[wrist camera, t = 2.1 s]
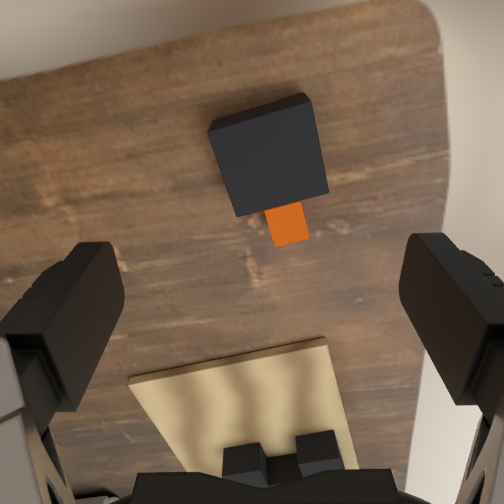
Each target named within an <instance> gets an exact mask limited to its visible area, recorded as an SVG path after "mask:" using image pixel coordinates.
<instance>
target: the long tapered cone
mask: <svg viewBox="0 0 504 504" xmlns="http://www.w3.org/2000/svg"><path fill="white" fill-rule="evenodd" d="M119 499H120V498H118V497H107V496H99V497H92V498H84V499H77V500H75V501H76V504H109V503H112V502H114V501H116V500H119Z"/></svg>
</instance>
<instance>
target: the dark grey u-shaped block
mask: <svg viewBox="0 0 504 504" xmlns="http://www.w3.org/2000/svg"><path fill="white" fill-rule="evenodd" d="M295 440H296V450H297V453H293V454H287V455H281V456H275V457H269V458H267V456H266V454H265V452H264V450H263V448H262V446H261V444H260V442H258V443H252V444H246V445H240V446H234V447H228V448H224V450H223V464H222V478H224V479H228V480H232V481H235V482H239V483H243V484H247V485H251V486H254V487H259V488H268V487H272V486H275V485H279V484H282V483H285V482H289V481H292V480H295V479H299V478H302V477H305V476H308V475H312V474H315V473H318V472H322V471H325V470H339V469H345V466H344V463H343V459H342V456H341V452H340V449H339V446H338V442H337V439H336V435H335V432H334V430H330V431H324V432H318V433H312V434H306V435H300V436H295Z"/></svg>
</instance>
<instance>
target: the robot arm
mask: <svg viewBox="0 0 504 504" xmlns="http://www.w3.org/2000/svg"><path fill="white" fill-rule="evenodd" d="M399 296H400V300H401V303H402V305H403V307H404V309H405V311H406V313H407V315H408V317H409V319H410V320H411V322H412V324H413V326H414V328H415V330H416V332H417V334H418V335H419V337H420V339H421V341H422V343H423V345H424V347H425V349H426V350H427V352H428V354H429V356H430V358H431V360H432V362H433V363H434V365H435V367H436V369H437V371H438V373H439V374H440V377H441V378H442V380H443V382H444V384H445V386H446V388H447V390H448V392H449V393H450V395H451V397H452V399H453V401H454V403H455V404H456V405H478V406H479V408H480V410H481V412H482V413H483V414H482V416H481V418H480V420H479V422H478V425H477V429H476V433H475V436H474V440H473V444H472V447H471V451H470V454H469V458H468V462H467V465H466V469H465V473H464V476H463V480H462V484H461V487H460V490H459V494H458V497H457V500H456V503H455V504H504V282H503V281H502V280H501V279H500V278H499V277H498V276H495V273H494V272H493V271H492V270H491V269H490V268H489V267H488V266H487V265H486V264H485V263H484V262H483V261H482V260H480V259H478V258H477V257H475V256H473V255H471V254H469V253H468V252H466V251H464V250H461V251H460V250H459V249H458V248H457V247H456V246H455V244H453V242H452V241H451V240H450V239H449V238H448V237H447V236H446V235H445V234H444V233H413V234H411V235H410V237H409V239H408V242H407V246H406V251H405V256H404V261H403V265H402V270H401V275H400V280H399ZM123 306H124V287H123V284H122V280H121V276H120V272H119V268H118V264H117V261H116V257H115V253H114V249H113V247H112V245H111V244H110V243H109V242H80V243H78V244H77V245H76V246H75V247H74V248H73V250H72V251H71V252H70V253H69V255H68V256H67V257H66V258H65V260H64V261H59V262H57V263H56V264H54V265H53V266H51V267H50V268H48V269H47V270H45V271H44V272H42V274H41V275H40V276H39V277H38V278H37V279H36V281H35V282H34V283H33V284H32V288H29V289H28V290H27V291H26V292H25V293H24V295H23V298H22V299H19V300H18V302H17V303H16V304H15V305H14V306H13V307H12V309H11V310H10V311H9V312H8V313H7V314H6V316H5V317H4V318H3V319H2V320H1V321H0V504H76V501H75V499H74V496H73V493H72V490H71V487H70V484H69V481H68V477H67V474H66V471H65V468H64V465H63V462H62V459H61V456H60V453H59V449H58V446H57V443H56V440H55V437H54V434H53V431H52V429H51V427H50V425H49V423H50V421H51V419H52V417H53V415H54V413H55V412H76V410H77V408H78V406H79V404H80V402H81V399H82V397H83V395H84V393H85V391H86V389H87V386H88V384H89V382H90V380H91V378H92V375H93V373H94V371H95V369H96V367H97V365H98V362H99V360H100V358H101V356H102V354H103V352H104V349H105V347H106V345H107V343H108V341H109V338H110V336H111V334H112V332H113V330H114V328H115V325H116V323H117V321H118V319H119V317H120V315H121V312H122V310H123ZM109 504H431V503H429V502H427V501H424V500H423V499H420V498H418V497H415V496H413V495H410V494H407V493H405V492H401V491H397V488H396V485H395V481H394V478H393V475H392V472H391V469H339V470H325V471H322V472H318V473H315V474H312V475H308V476H305V477H302V478H299V479H295V480H292V481H289V482H285V483H282V484H279V485H275V486H272V487H268V488H259V487H254V486H251V485H247V484H243V483H239V482H235V481H232V480H228V479H224V478H220V477H217V476H213V475H209V474H205V473H202V472H158V473H137V477H136V481H135V485H134V489H133V493H132V495H129V496H126V497H123V498H121V499H119V500H116V501H114V502H112V503H109Z"/></svg>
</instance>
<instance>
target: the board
mask: <svg viewBox="0 0 504 504" xmlns="http://www.w3.org/2000/svg"><path fill="white" fill-rule="evenodd" d="M128 386H129V388H130V389H131V391H132V392H133V394H134V395H135V397H136V398H137V399H138V401H139V402H140V404H141V405H142V407H143V408H144V410H145V411H146V413H147V414H148V415H149V417H150V418H151V420H152V421H153V423H154V424H155V426H156V427H157V429H158V430H159V431H160V433H161V434H162V436H163V437H164V439H165V440H166V442H167V443H168V445H169V446H170V447H171V449H172V450H173V452H174V453H175V455H176V456H177V458H178V459H179V461H180V462H181V463H182V465H183V466H184V468H185V469H186V471H187V472H202V473H205V474H209V475H213V476H217V477H220V478H222V464H223V450H224V448H228V447H234V446H240V445H246V444H252V443H258V442H260V444H261V446H262V448H263V450H264V452H265V454H266V456H267V458H269V457H275V456H281V455H287V454H293V453H297V450H296V440H295V436H300V435H306V434H312V433H318V432H324V431H330V430H334V432H335V435H336V439H337V442H338V446H339V449H340V452H341V456H342V459H343V463H344V466H345V469H359V465H358V462H357V458H356V454H355V450H354V446H353V442H352V438H351V434H350V431H349V427H348V423H347V419H346V415H345V411H344V407H343V403H342V400H341V396H340V392H339V388H338V384H337V380H336V376H335V373H334V369H333V365H332V361H331V357H330V353H329V349H328V345H327V342H326V338H325V337H324V338H319V339H314V340H309V341H304V342H300V343H295V344H290V345H285V346H280V347H275V348H271V349H266V350H261V351H256V352H251V353H246V354H242V355H237V356H232V357H227V358H222V359H217V360H212V361H208V362H203V363H198V364H193V365H188V366H183V367H179V368H174V369H169V370H164V371H159V372H154V373H149V374H145V375H140V376H135V377H131V378H130V381H129V384H128Z"/></svg>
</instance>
